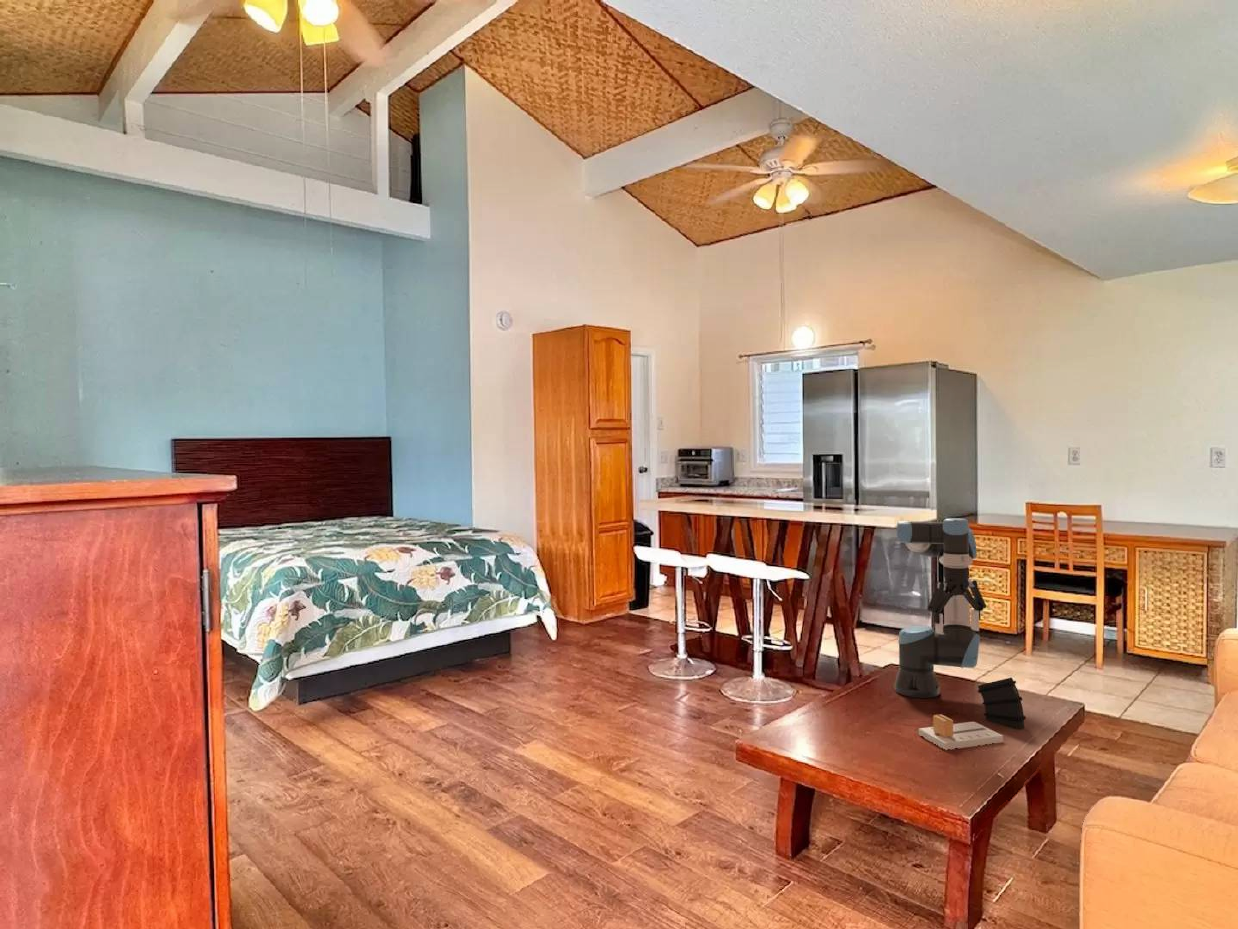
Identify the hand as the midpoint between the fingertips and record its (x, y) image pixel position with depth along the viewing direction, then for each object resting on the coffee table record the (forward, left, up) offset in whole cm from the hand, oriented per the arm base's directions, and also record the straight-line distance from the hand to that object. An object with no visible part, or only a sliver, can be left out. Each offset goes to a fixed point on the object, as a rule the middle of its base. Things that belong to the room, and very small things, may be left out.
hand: (957, 631), depth 235 cm
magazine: (+6, +11, -29) cm, 32 cm away
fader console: (+13, -10, -29) cm, 33 cm away
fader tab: (+13, -16, -27) cm, 34 cm away
